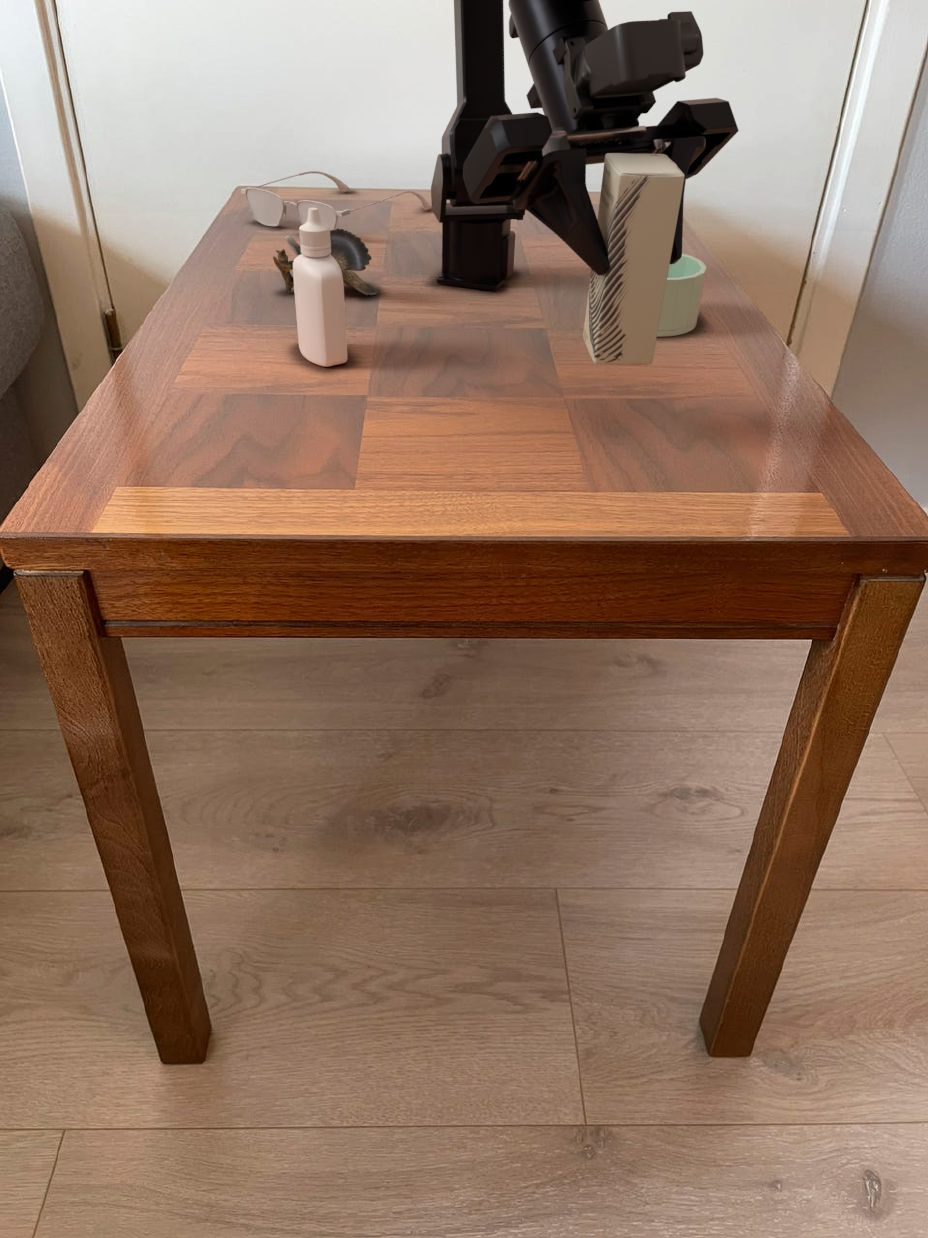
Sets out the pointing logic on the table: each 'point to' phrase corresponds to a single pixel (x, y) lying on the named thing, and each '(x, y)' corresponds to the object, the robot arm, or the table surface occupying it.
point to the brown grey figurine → (343, 250)
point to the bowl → (682, 296)
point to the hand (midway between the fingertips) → (640, 266)
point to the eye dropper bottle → (319, 296)
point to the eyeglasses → (300, 204)
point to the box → (632, 256)
